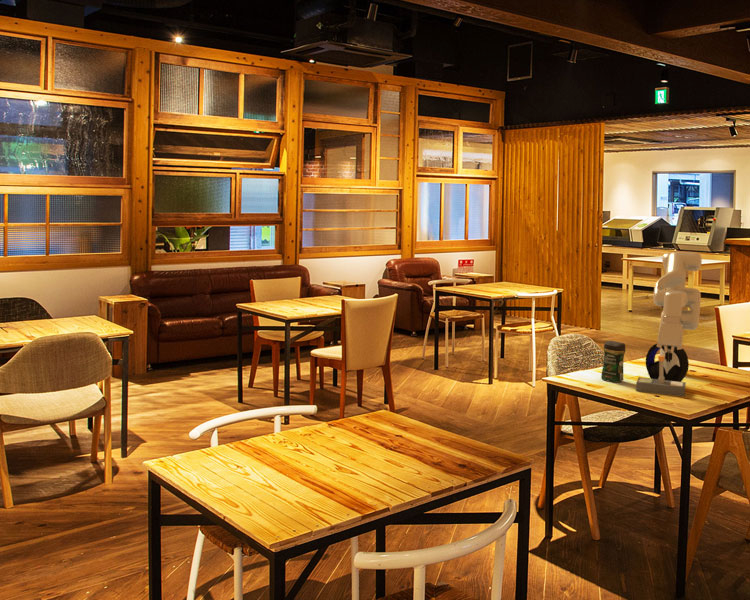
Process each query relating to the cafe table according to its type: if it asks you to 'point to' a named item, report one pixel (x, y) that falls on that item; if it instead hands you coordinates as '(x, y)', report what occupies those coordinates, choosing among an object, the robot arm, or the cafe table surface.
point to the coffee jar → (613, 361)
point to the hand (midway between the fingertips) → (668, 361)
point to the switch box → (660, 386)
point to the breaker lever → (661, 365)
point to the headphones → (673, 374)
